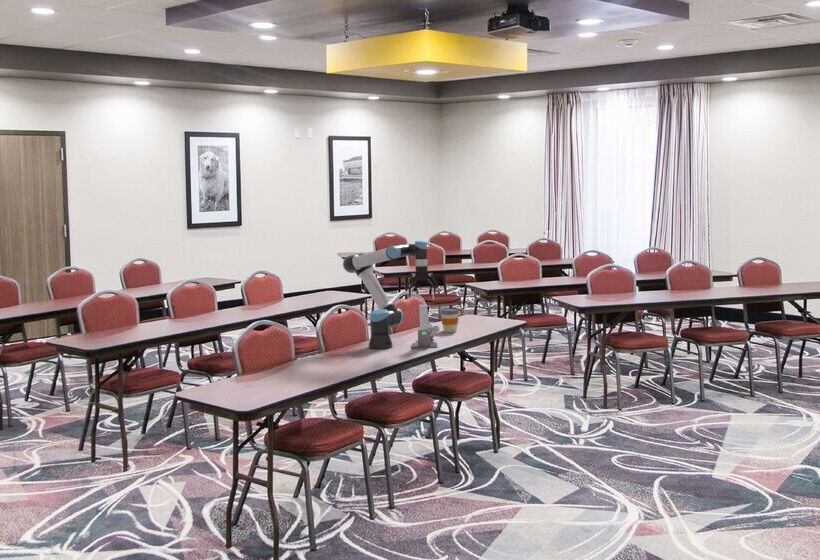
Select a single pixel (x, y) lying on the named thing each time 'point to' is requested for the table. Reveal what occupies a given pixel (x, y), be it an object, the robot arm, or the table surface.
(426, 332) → the stand base
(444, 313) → the reusable coffee cup
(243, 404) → the table surface
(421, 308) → the column
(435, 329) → the valve
